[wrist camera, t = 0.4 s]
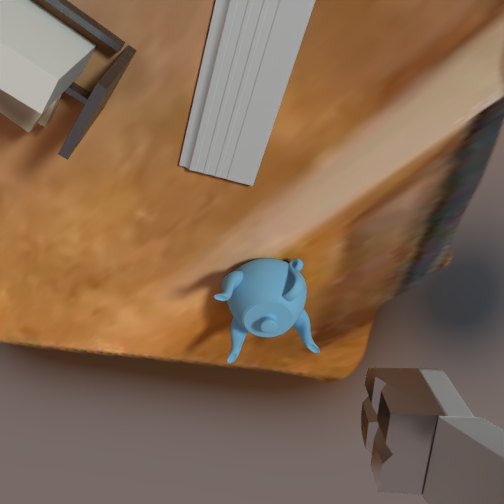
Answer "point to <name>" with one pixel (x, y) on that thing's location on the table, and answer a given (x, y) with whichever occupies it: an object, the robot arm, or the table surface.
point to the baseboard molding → (242, 84)
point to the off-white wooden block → (38, 53)
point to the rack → (103, 87)
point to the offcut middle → (49, 113)
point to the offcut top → (18, 111)
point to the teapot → (266, 301)
